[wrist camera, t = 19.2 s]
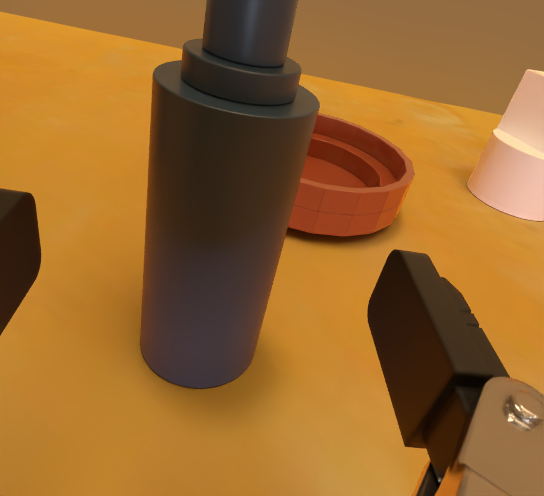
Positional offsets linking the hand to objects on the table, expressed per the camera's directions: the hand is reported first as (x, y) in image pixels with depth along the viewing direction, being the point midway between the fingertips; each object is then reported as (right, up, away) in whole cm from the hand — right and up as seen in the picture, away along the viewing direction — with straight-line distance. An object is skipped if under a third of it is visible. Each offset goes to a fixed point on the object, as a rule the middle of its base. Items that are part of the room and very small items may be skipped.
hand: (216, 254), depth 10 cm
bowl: (+4, +5, +29) cm, 30 cm away
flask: (-2, -5, +13) cm, 14 cm away
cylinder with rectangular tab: (+27, +5, +37) cm, 46 cm away
